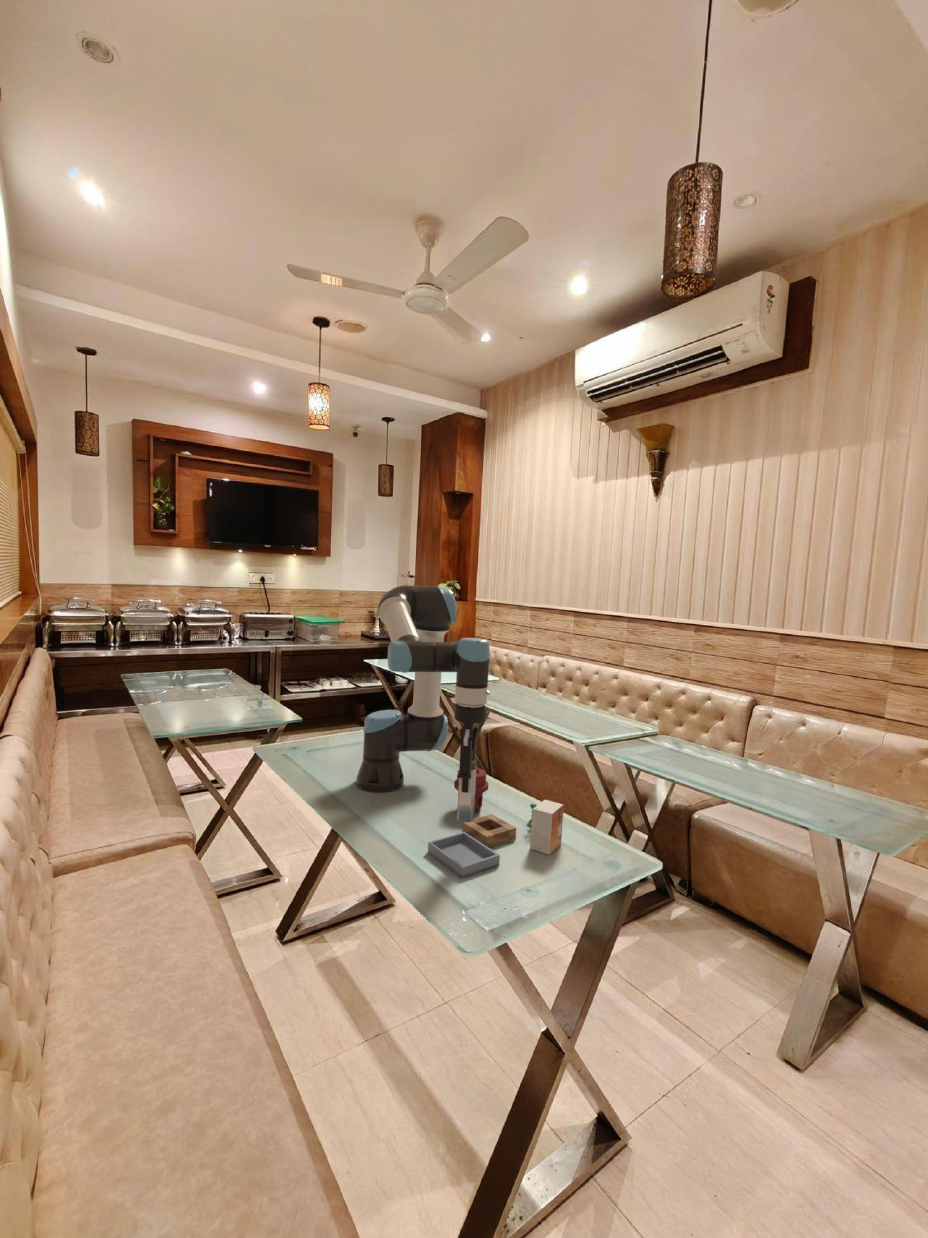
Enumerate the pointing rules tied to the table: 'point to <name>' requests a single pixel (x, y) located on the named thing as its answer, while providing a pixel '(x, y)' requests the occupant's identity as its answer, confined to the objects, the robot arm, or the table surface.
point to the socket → (497, 827)
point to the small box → (546, 826)
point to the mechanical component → (477, 787)
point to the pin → (465, 811)
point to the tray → (463, 854)
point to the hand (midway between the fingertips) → (466, 800)
